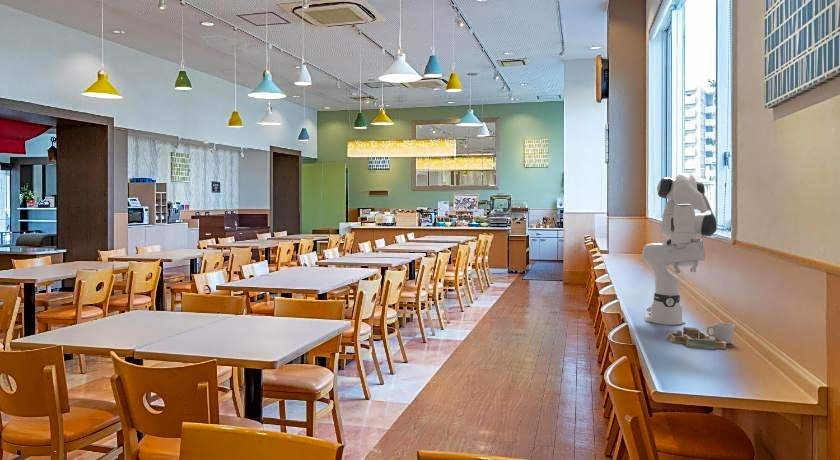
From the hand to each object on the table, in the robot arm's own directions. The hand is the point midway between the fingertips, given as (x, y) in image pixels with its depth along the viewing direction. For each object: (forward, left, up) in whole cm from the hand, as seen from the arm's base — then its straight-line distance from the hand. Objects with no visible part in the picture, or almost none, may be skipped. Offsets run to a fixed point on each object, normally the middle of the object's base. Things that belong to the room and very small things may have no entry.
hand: (685, 272), depth 274 cm
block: (-4, +5, -30) cm, 30 cm away
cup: (-2, +17, -30) cm, 34 cm away
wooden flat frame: (+3, +5, -30) cm, 30 cm away
